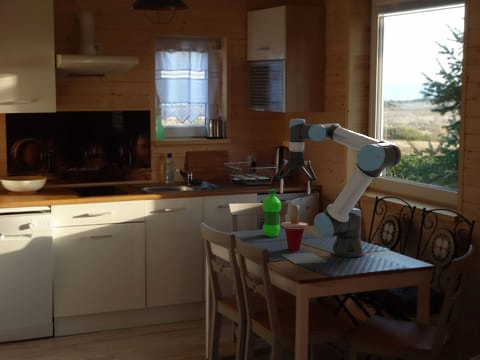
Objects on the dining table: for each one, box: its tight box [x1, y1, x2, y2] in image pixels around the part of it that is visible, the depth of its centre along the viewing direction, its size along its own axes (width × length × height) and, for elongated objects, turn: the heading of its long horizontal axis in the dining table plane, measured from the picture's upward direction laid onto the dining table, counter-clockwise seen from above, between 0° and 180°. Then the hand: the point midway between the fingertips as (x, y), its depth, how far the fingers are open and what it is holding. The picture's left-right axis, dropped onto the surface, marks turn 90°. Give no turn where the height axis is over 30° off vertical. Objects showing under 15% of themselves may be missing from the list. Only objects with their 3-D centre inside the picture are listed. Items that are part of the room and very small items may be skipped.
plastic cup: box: [283, 226, 306, 252], centre depth 385 cm, size 11×11×12 cm
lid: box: [280, 204, 309, 228], centre depth 383 cm, size 13×13×10 cm
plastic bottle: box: [262, 189, 282, 238], centre depth 415 cm, size 10×10×25 cm
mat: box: [280, 252, 328, 265], centre depth 366 cm, size 18×16×1 cm
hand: (295, 193), depth 382 cm, fingers open, 13 cm apart
